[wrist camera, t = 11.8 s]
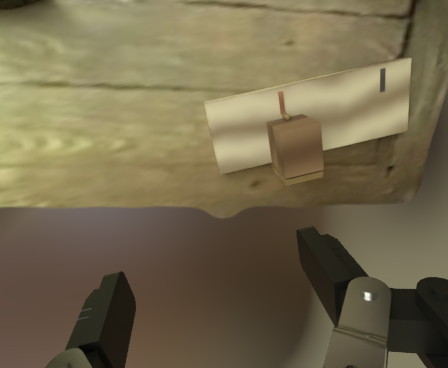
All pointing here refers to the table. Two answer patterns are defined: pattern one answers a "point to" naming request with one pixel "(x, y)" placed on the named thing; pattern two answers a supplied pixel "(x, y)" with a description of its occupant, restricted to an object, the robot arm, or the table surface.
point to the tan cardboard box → (296, 148)
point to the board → (312, 111)
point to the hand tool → (14, 3)
